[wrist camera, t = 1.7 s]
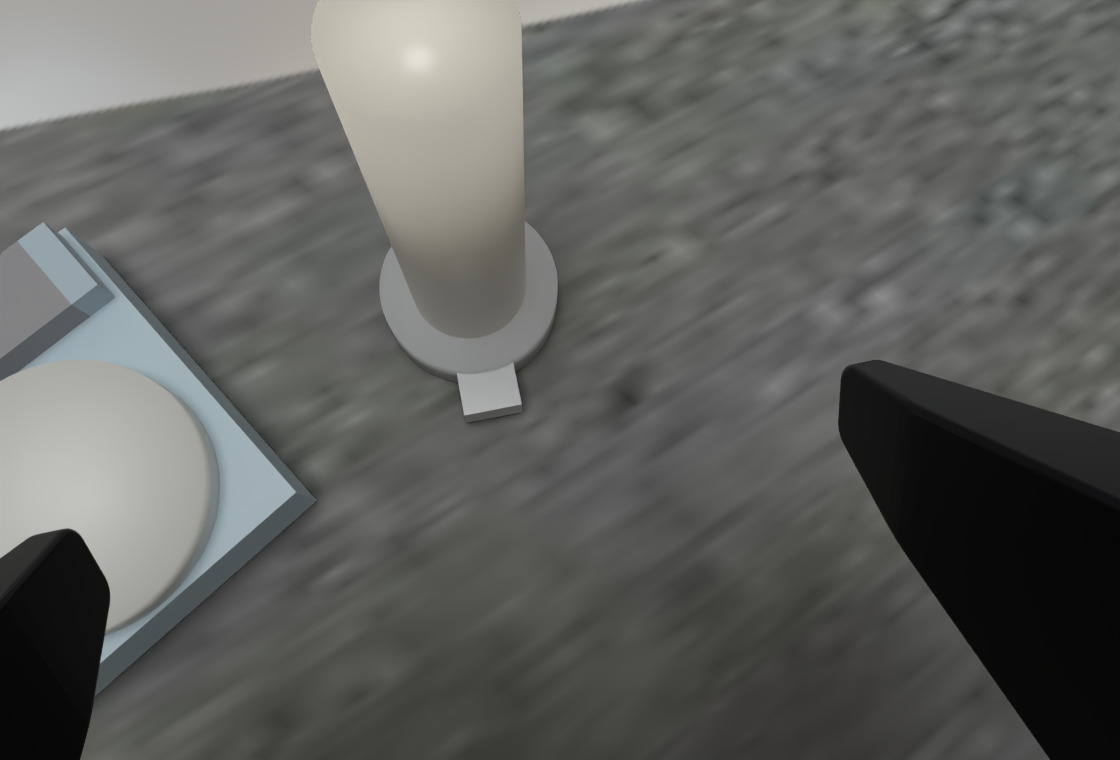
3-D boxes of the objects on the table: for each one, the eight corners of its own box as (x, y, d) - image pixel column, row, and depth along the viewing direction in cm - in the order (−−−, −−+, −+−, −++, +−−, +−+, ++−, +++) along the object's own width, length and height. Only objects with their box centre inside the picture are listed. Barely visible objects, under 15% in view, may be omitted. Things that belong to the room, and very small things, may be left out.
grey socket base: (317, 500, 22) (284, 487, 19) (74, 715, 20) (-3, 735, 18) (103, 256, 24) (43, 210, 21) (-138, 437, 22) (-238, 414, 19)
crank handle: (377, 241, 24) (234, -81, 13) (538, 213, 25) (544, -123, 13) (408, 434, 23) (279, 273, 11) (579, 401, 23) (628, 212, 11)
